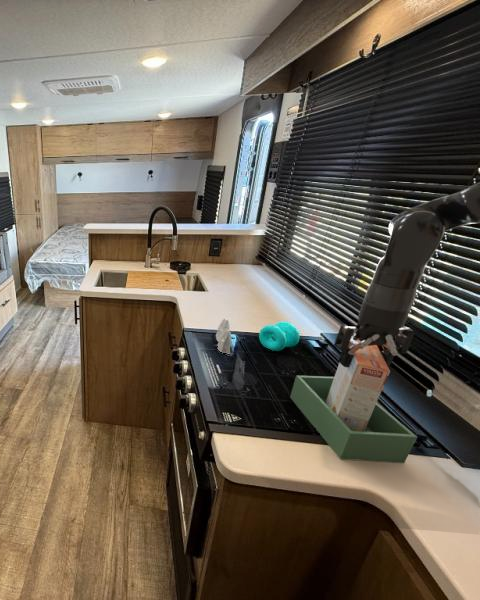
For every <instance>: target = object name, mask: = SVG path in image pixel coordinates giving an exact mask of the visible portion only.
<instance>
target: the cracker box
mask: <svg viewBox="0 0 480 600" xmlns="http://www.w3.org/2000/svg"><path fill="white" fill-rule="evenodd" d="M356 342H358V343H360V342H361V341H360V340H359V339H357V340H356ZM353 346H354V345H352V346H351V347H353ZM351 347H349V348H351ZM390 373H391V370H390V368H389V367H388V366H387V364H386V362H385V360H384V358H383V357H382V355H381V350H380V348H379V346H377V345H372V346H366V347H364V348H363V349H359V350H357V351H356V352H355V353H353V358H352V361H351V363H350V366H349V367H344V366H343V365H341V364H340V362H338V366H337V369H336V372H335V374H334V376H333V377H334V380H333V383H332V385H331V388H330V391H329V394H328V396H327V399H326V402H325V403H326V404H327V405H328V407H329V408H330V409H331V410H332V411H333V412H334V413H335V414H336V415H337V416H338V417H339V418H340V419H341V420H342V421H343V422H344V423H345V424H346V426H347V427H348V428H349V429H350V430H351V431H361V432H364V430H365V428H366V426H367V423H368V421H369V419H370V416H371V414H372V412H373V410H374V407H375V405H376V403H378V401H379V398H380V396H381V393H382V391H383V389H384V387H385V384H386V383H387V380H388V378H389V375H390Z"/></svg>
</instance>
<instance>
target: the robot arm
mask: <svg viewBox="0 0 480 600" xmlns="http://www.w3.org/2000/svg"><path fill="white" fill-rule="evenodd" d="M471 224H480V181H479V182H476V183H474V184H472V185H470V186H467V187H464V188H463V189H461V190H459V191H458V190H457V191H456V192H453V193H451V194H447V195H444V196H441V197H438V198H435V199H432V200H429V201H427V202H424V203H421V204H418V205H415V206H412V207H410V208H408V209H405V210H404V211H401V212H399V213H398V214H397V215H395V217H393V218H392V219H391V220H390V222H389V224H388V233H389V235H390V237H389V242H388V244H387V247H386V250H385V254H384V256H382V257H381V258H380V260H379V262H378V264H377V266H376V268H375V271H374V273H373V277H372V280H371V282H370V283H369V286H368V288H367V290H366V293H365V295H364V298H363V300H362V304H361V306H360V309H359V313H358V315H357V318H358V322H357V324H356V325H355V326H348V325H347V324H346V323H345V324H341V325H340V327H339V330H338V333H337V335H336V338H335V341H334V343H333V346H334V347H335V348H336V349H337V350H339V351H340V352H341V353H340V355H339V358H338V363H340V364H341V365H343V366H344V367H349V366H350V363H351V361H352V358H353V353H355V352H356V351H357V350H359V349H363V348H364V347H366V346H372V345H377V346H378V347H382V349H383V350H380V353H381V355H382V357H383V358H384V360H385V362H386V364H387V366H388V368H389V367H390V366H391V365H392V362H393V360H394V358H395V357H397V356H398V354H402V355H404V354H407V353H408V351H409V349H410V345H411V343H412V341H413V338H414V335H415V334H416V333H415V330H413V329H411V328H410V327H407V326H405V324H406V321H407V318H408V316H409V314H410V312H411V309H412V306H413V304H414V301H415V299H416V294H417V290H418V287H419V285H420V282H421V280H422V277H423V275H424V272H425V268H426V266H427V264H428V263H429V261H430V260H431V258H432V257H433V255H434V253H435V252H436V250H437V248H438V247H439V245H440V244H441V241H442V239H443V237H444V234H445V232H447V231H450V230H453V229H456V228H459V227H461V226H462V227H463V226H465V225H471ZM356 340H359V341H361V342H360V343H358V342H356ZM352 345H354V346H353V347H351V346H352ZM349 347H351V348H349Z"/></svg>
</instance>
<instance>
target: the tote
mask: <svg viewBox="0 0 480 600" xmlns="http://www.w3.org/2000/svg"><path fill="white" fill-rule="evenodd" d="M334 377H335V376H322V375H321V376H320V375H319V376H318V375H295V378H294V383H293V385H292V389H291V393H290V396H289V398H290V399H291V400H292V402H293V403H294V404H295V405H296V407H297V409H299V410H300V412H301V413H302V414H303V416H305V418H306V419H307V421H309V423H310V424H311V425H312V426H313V428H314V429H315V428H316V429H315V430H316V431H317V433H318V434H319V433H320V434H319V435H320V436H321V437H322V439H323V440H324V441H325V442H326V443H327V445H328V446H329V447H330V449H331V450H332V451H333V452H334V454H336V456H337V457H338V459H340V460H348V461H350V460H351V461H366V462H381V463H395V464H396V463H397V464H405V463H406V461H407V460H408V457H409V455H410V453H411V451H412V449H413V448H414V445H415V443H416V442H417V439H418V436H417V435H416V434H414V433H413V432H412V431H411V430H410V429H409V428H407V427H406V426H405V425H404V424H403V423H402V422H400V421H399V419H397V418H396V417H395V416H393V415H392V414H391V413H390V412H389V411H388V410H386V409H385V408H384V407H383V406H382V405H381V404H379V403H378V402H377V403H376V405H375V407H374V410H373V412H372V414H371V416H370V419H369V421H368V423H367V426H366V428H365V430H364V432H361V431H351V430H350V429H349V428H348V427H347V426H346V424H345V423H344V422H343V421H342V420H341V419H340V418H339V417H338V416H337V415H336V414H335V413H334V412H333V411H332V410H331V409H330V408H329V407H328V405H327V404H326V403H325V402H326V399H327V396H328V394H329V391H330V388H331V385H332V383H333V380H334Z"/></svg>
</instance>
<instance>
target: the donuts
mask: <svg viewBox="0 0 480 600" xmlns="http://www.w3.org/2000/svg"><path fill="white" fill-rule="evenodd" d="M300 337H301V336H300V332H299V329H298V328H297V327H296V325H294V324H293V323H291V322H289V321H284V320H283V321H278V322H277V323H275V324H267V325H264V326H263V327H261V329H260V330H259V333H258V338H259V342H260V344H261V345H262V346H263V348H265V347H266V348H268V349H270V350H272V351H271V352H273V351H277V352H281V351H283V349H285V348H287V347H289V348H293V347H295V346H296V345H298V343H299V341H300ZM266 348H265V349H266ZM268 349H267V350H268ZM270 350H269V351H270Z"/></svg>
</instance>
